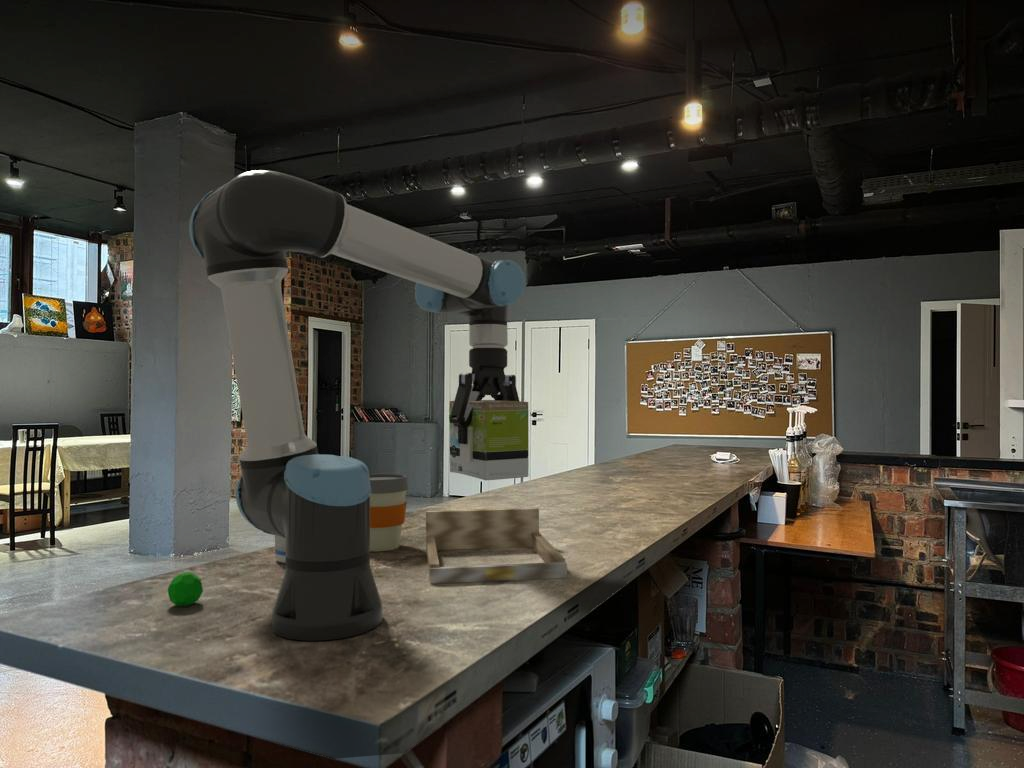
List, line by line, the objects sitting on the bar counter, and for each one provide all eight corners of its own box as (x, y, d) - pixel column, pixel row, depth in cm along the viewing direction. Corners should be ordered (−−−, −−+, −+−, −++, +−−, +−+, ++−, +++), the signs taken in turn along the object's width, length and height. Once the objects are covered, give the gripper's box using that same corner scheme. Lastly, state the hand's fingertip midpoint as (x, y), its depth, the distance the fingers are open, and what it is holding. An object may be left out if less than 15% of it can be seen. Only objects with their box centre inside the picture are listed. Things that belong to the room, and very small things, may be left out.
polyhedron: (162, 610, 107) (162, 578, 107) (175, 600, 111) (175, 570, 112) (196, 609, 107) (196, 577, 107) (207, 600, 112) (207, 569, 112)
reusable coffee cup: (380, 555, 142) (380, 481, 143) (335, 549, 149) (335, 478, 149) (420, 544, 153) (419, 475, 153) (376, 538, 160) (376, 472, 160)
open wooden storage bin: (430, 584, 120) (430, 537, 121) (425, 548, 148) (425, 510, 149) (567, 578, 124) (566, 532, 124) (537, 544, 152) (537, 507, 152)
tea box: (447, 473, 141) (447, 399, 142) (490, 470, 146) (490, 399, 147) (484, 480, 128) (485, 399, 129) (530, 477, 134) (530, 400, 134)
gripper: (513, 351, 149) (513, 455, 149) (430, 345, 132) (429, 462, 131) (541, 350, 144) (541, 456, 144) (458, 343, 127) (457, 464, 126)
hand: (488, 459), depth 138 cm, fingers closed on tea box, 11 cm apart
